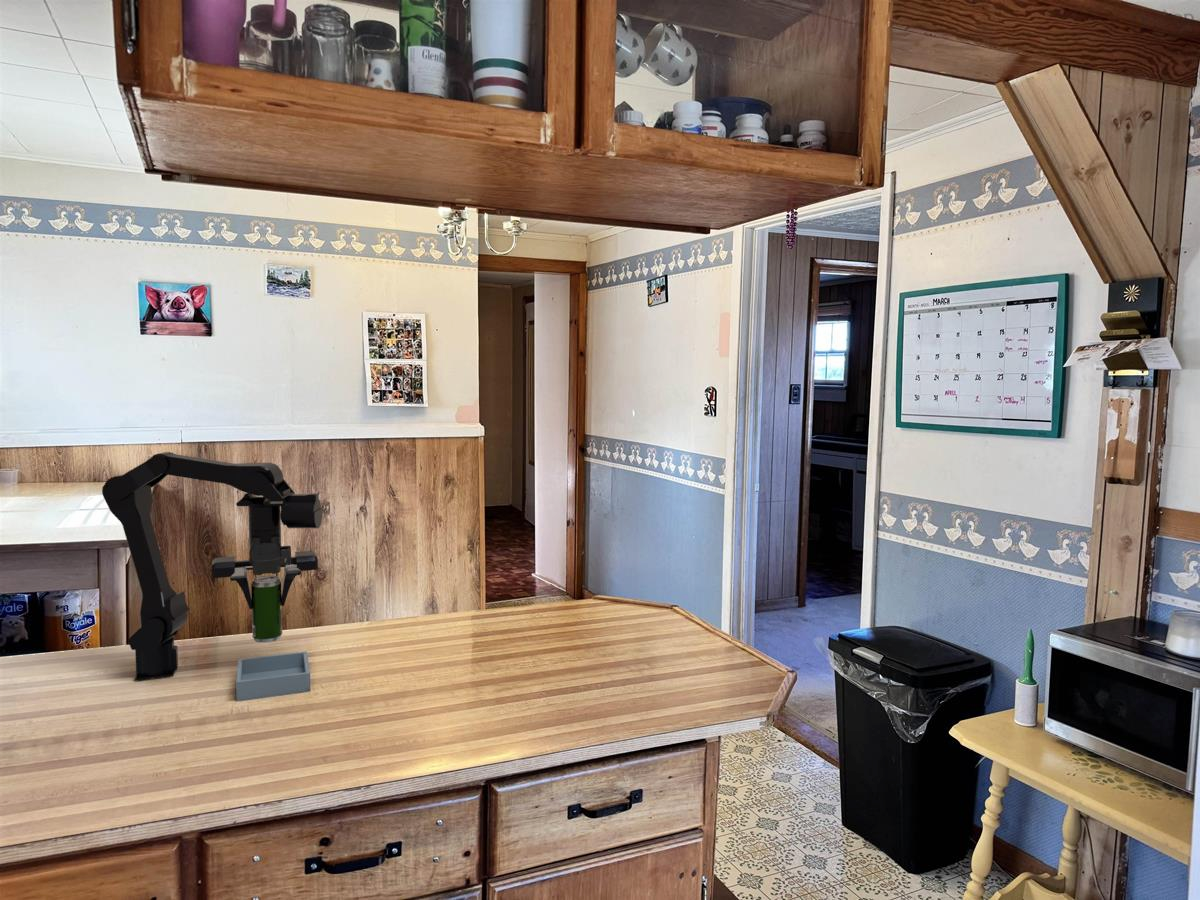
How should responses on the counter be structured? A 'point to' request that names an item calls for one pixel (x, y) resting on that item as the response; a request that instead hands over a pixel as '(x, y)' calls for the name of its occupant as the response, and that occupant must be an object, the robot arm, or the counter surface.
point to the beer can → (266, 608)
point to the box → (272, 676)
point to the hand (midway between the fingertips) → (266, 607)
